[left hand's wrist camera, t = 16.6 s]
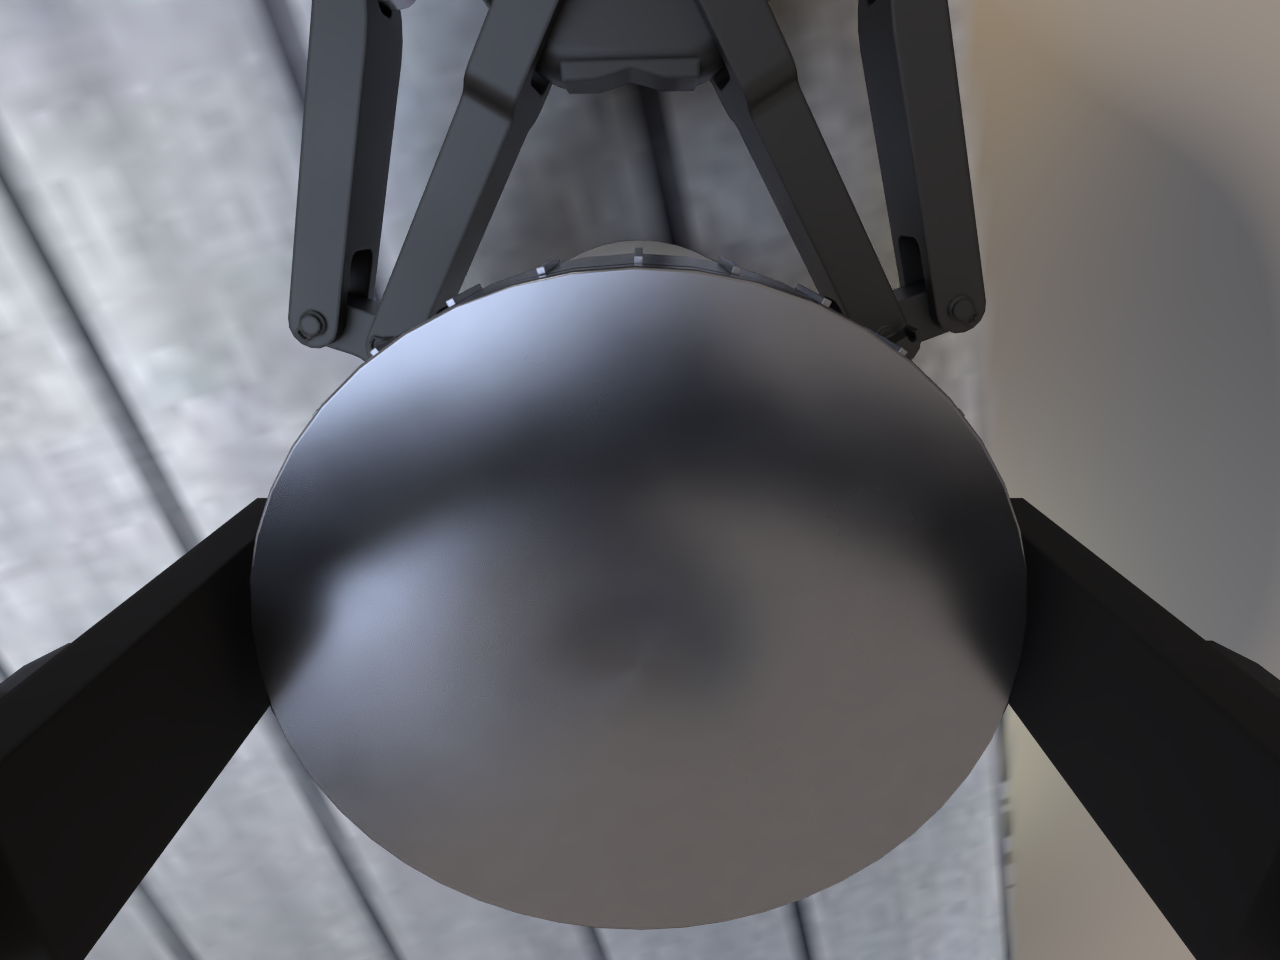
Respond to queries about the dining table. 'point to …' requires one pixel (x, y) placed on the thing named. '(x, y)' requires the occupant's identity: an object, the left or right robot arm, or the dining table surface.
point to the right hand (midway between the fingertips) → (642, 571)
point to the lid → (638, 594)
